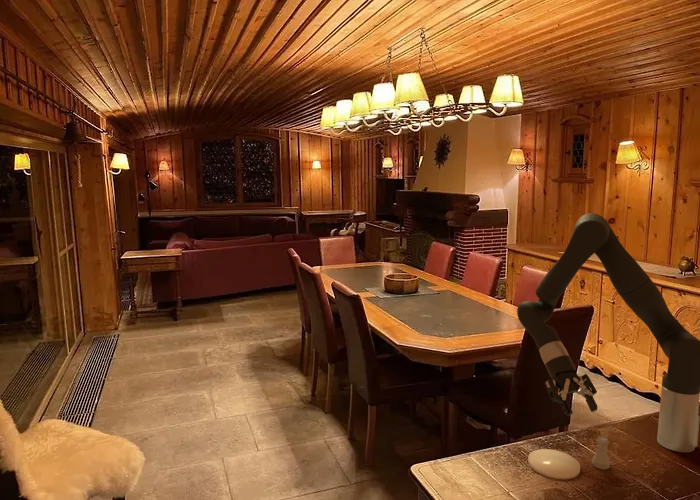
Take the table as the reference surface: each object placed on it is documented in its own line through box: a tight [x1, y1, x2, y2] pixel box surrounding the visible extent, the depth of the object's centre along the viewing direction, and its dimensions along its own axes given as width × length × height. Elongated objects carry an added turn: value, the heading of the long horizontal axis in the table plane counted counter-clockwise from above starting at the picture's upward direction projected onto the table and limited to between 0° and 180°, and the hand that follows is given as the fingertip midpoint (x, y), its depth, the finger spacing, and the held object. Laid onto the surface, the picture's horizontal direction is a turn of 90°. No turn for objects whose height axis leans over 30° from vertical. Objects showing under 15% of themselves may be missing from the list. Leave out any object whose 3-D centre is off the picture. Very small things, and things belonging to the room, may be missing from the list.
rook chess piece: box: [591, 435, 611, 471], centre depth 136 cm, size 4×4×8 cm
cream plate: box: [527, 448, 581, 480], centre depth 136 cm, size 13×13×1 cm
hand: (582, 412), depth 142 cm, fingers open, 8 cm apart
